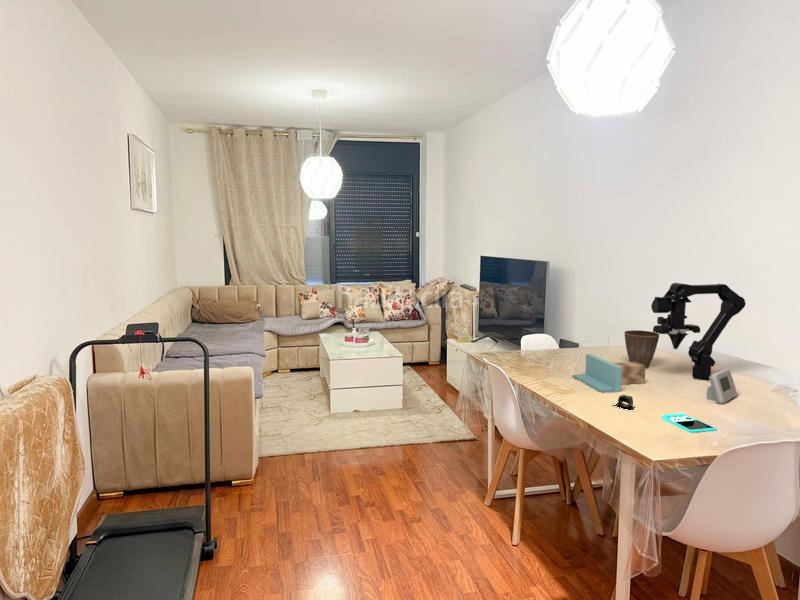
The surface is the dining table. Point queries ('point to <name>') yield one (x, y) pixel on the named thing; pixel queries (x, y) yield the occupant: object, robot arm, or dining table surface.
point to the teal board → (601, 374)
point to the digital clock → (721, 386)
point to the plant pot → (641, 346)
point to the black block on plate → (628, 400)
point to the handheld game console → (688, 423)
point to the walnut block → (632, 373)
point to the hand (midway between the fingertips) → (675, 349)
